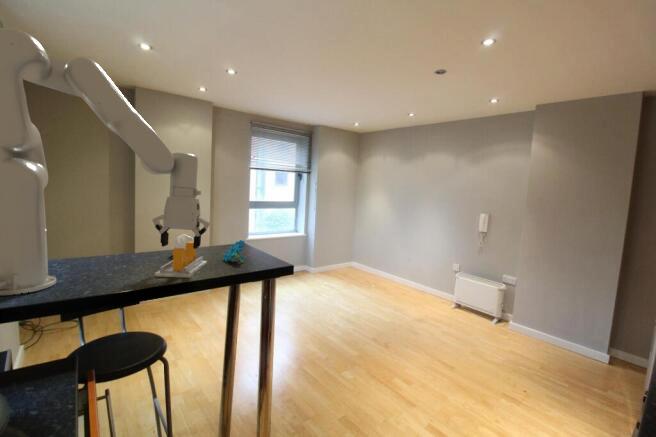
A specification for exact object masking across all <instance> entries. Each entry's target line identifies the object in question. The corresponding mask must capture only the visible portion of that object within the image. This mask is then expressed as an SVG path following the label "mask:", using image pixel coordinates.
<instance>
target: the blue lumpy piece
mask: <svg viewBox="0 0 656 437" xmlns="http://www.w3.org/2000/svg"><path fill="white" fill-rule="evenodd" d="M245 243H246V242H245V240H242V239H240V240H239V241H235V243H234V244H231V246H230V249H229V248H228V249H227V250H225V253H224V254H223V256H222V261H224V260H225V261H224V262H226V263H227V262H229V261H233V258H235V260H236V261H239V262H241V263H242V262H244V263H245V261H244V259H245V257H243V255H241V254H240V253H241V252H242V251H243V249H244V247H245V246H246V245H245ZM242 248H243V249H242ZM242 259H243V260H242Z"/></svg>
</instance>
